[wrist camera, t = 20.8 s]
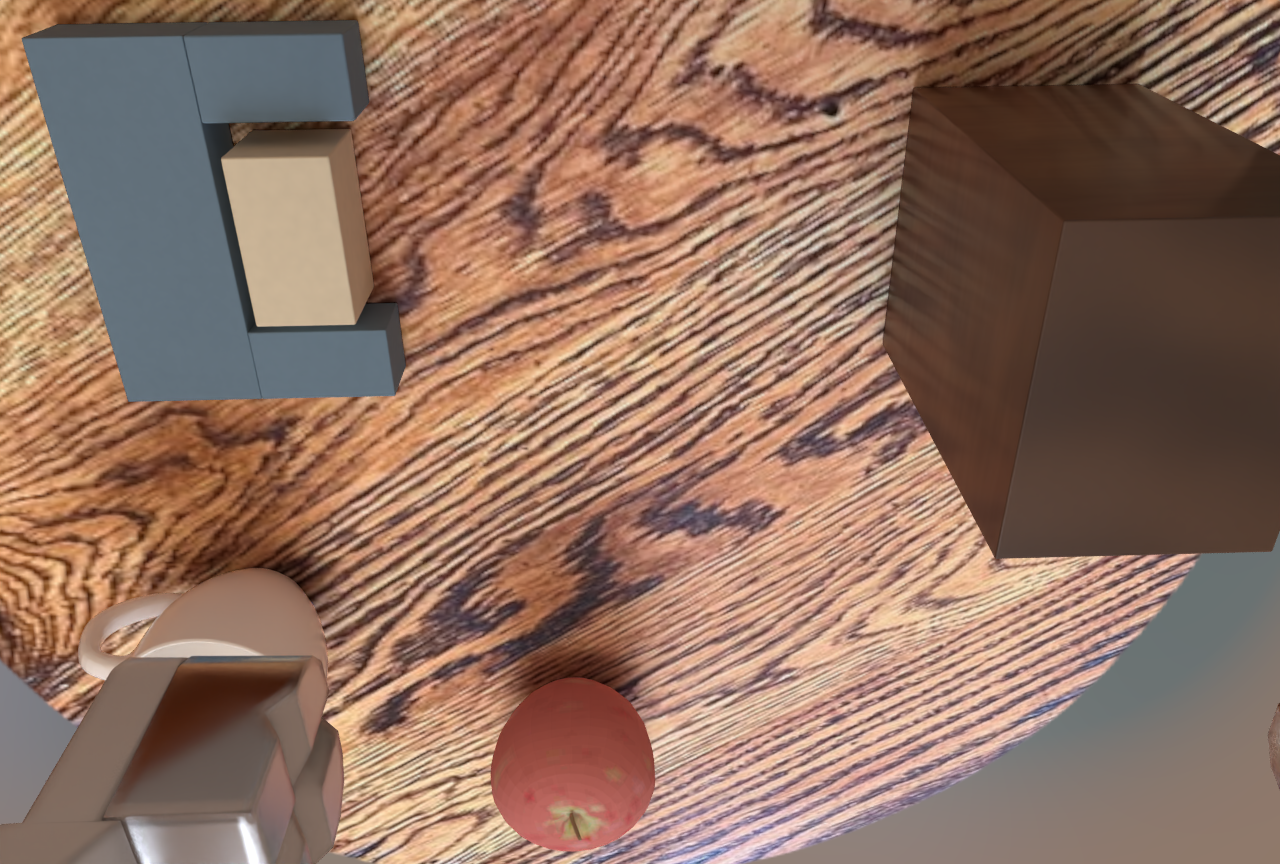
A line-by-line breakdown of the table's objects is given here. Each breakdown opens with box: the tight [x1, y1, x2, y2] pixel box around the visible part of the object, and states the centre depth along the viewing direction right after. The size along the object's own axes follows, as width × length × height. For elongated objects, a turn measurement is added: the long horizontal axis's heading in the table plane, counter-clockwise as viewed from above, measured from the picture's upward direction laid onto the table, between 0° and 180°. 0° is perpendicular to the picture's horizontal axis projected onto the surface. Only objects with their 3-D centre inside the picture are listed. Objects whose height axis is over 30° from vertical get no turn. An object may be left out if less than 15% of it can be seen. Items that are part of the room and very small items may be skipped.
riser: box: [883, 84, 1280, 559], centre depth 33 cm, size 10×8×14 cm
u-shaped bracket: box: [22, 20, 406, 402], centre depth 37 cm, size 13×10×2 cm
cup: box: [78, 568, 328, 680], centre depth 44 cm, size 8×10×7 cm
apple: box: [491, 677, 655, 851], centre depth 48 cm, size 7×7×8 cm
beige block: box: [221, 129, 374, 327], centre depth 37 cm, size 6×4×4 cm, turn 1°
